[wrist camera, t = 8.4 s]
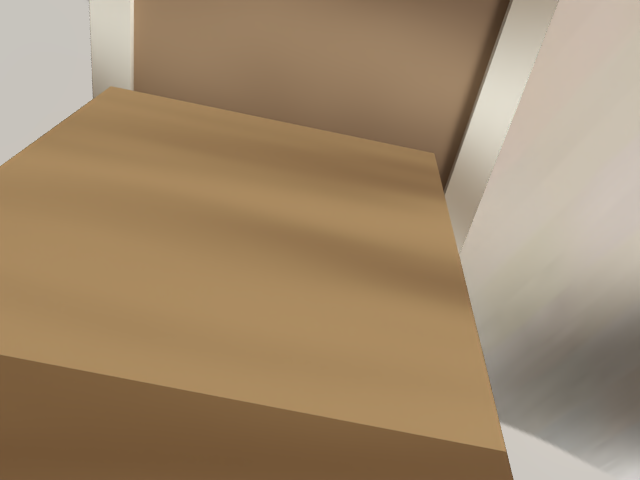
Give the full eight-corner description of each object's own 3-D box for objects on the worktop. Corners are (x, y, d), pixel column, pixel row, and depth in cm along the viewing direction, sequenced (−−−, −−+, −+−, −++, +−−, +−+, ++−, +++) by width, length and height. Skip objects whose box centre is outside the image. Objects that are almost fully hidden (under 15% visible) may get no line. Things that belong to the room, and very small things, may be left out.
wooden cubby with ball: (111, 86, 9) (-458, 495, 3) (434, 153, 9) (561, 679, 3) (117, 402, 14) (-109, 849, 7) (339, 445, 14) (312, 917, 7)
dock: (131, -122, 17) (84, -125, 14) (535, -33, 17) (566, -19, 15) (131, 228, 24) (99, 272, 21) (420, 286, 24) (427, 336, 22)
